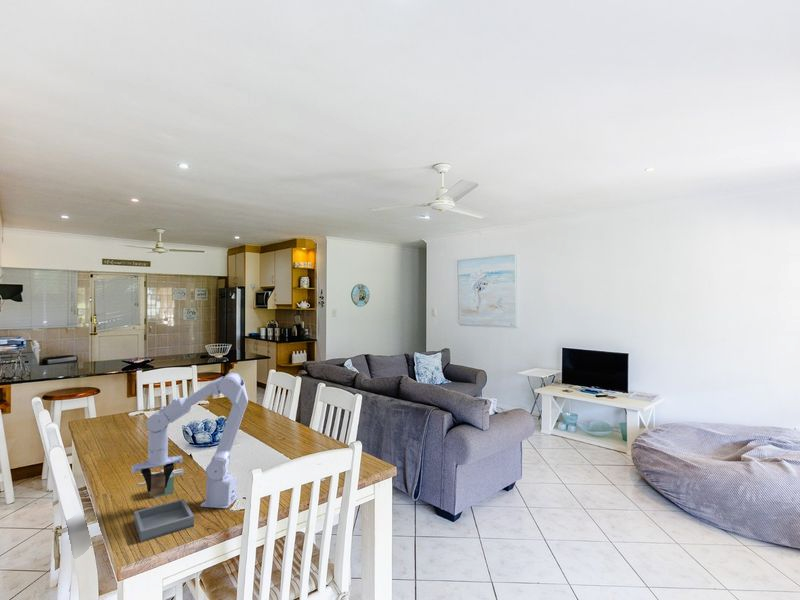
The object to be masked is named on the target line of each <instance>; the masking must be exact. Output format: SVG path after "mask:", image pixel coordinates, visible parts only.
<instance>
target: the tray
mask: <svg viewBox="0 0 800 600" xmlns="http://www.w3.org/2000/svg"><path fill="white" fill-rule="evenodd" d="M133 523H134V524H133V525H134V527H135V529H136V530H135V531H136V532H137V535H138V536H137V537H138V539H139V542H140V543H143V542H145V541H150V540H152V539H156V538H159V537H164V536H166V535H168V534H173V533H176V532H180V531H183V530H186V529H189V528H192V527H194V526H195V515H194V513H193V512H192V510H191V509H190V507H189V506H188V503H187V502H186V500H185V499H184V498H181V499H177V500H174V501H171V502H169V501H168V502H166V503H162V504H158V505H155V506H151V507H146V508H143V509H139V510H135V511H133Z"/></svg>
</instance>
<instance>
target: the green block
mask: <svg viewBox="0 0 800 600" xmlns="http://www.w3.org/2000/svg"><path fill="white" fill-rule="evenodd" d="M160 472H163V473H164V469H161V470H160ZM174 477H175V476H173V475H172V473H171V475H170V477H169V480H168V483H167V488H165V494H162V495H158V496H154V497H153V498H154V499H157V498H159V497H163V496H166V495H173V494H174V482H175V481H174V480H175V478H174Z"/></svg>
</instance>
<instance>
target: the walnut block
mask: <svg viewBox="0 0 800 600" xmlns="http://www.w3.org/2000/svg"><path fill="white" fill-rule="evenodd" d="M159 472H160V473H155V474H151V491H150V492H148V494H149V497H150V498H154V496H158V495H162V494H165V474H164V473H163V472H161V471H159Z"/></svg>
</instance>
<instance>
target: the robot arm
mask: <svg viewBox="0 0 800 600" xmlns="http://www.w3.org/2000/svg"><path fill="white" fill-rule="evenodd" d="M245 384H246V383H245V380H244V379H243V377H242V376H241V375H240V374H239V373H237V372H229V373H227V374H226V375H225V376H220V377H218V378H216V379H214V380H212V381H211V382H209V383H207V384H206V385H204V386H203V387H202V388H200V389H198V390H197V391H196V392H194V393H192V394H191V395H188V397H179V398H177V397H176V398H173V399H172V400H171V403H169V404H168V405H166V406H164V407H163V406H161V407H160V408H159V409H158V411H155V412H154V413H153V414H151V415H150V416H149V417H148V418H147V419H146V423H145V426H146V428H147V429H148V435H147V436H148V437H147V439H148V440H147V441H148V442H147V444H148V445H147V460H145V461H142V462H141V463H137V464H131V470H130V471H131V473H132V474H135V473H137V472H141V474H142V475H143V478H144V480H145V481H144V482H146V484H145V485H146V491H147V492H148V493H149V492H150V491H151V473H152V472H151V469H155V468H159V467H160V468H161V467H163V470H164V474H165V488H167V483H168V480H169V477H170V475H171V473H172V471H173V470H175V464H182V463H183V456H182V455H176V456H168V454H169V452H168V451H169V424H171V423H174V422H175V421H177V420H179V419H181V418H182V417H183V416H185V415H187V414H188V413H189V412H191V409H192V406H194V405H196V404H198V403H199V402H201V401H202V400H204V399H206V398H208V397H209V396H211V395H215V396H216V395H217V396H219V395H220V394H222V395H223V396H224V397H226V398H228V400H229V401H230V403H231V404H232V406H231V409H230V412H229V414H228V417H227V419H226V423H225V426H224V428H223V431H222V433H221V437H220V438H219V442H218V445H217V448H216V450H215V453H214V455H213V456H212V458H211V459H210V460H211V461H210V462H209V464H208V465H207V466H206V468H205V475H206V483H205V484H206V486H205V500H204V501H203V502H202V503H201V504H200V505H199V506H200V507H201V508H203V507H204V508H215V509H228V508H229V507H230V506H231V505H232V504H233V503H234V502H235V501H236V500H237V499H238V498H239V497H238V478H237V477H235V476H232V475H231V474H230V471H229V470H228V468H229V466H230V464H231V453H232V448H233V446H234V442H235V441H236V437H237V435H238V431H239V428H240V426H241V424H242V420H243V417H244V414H245V412H246V409H247V406H248V403H249V395H248V393H247V388H246V385H245Z"/></svg>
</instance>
